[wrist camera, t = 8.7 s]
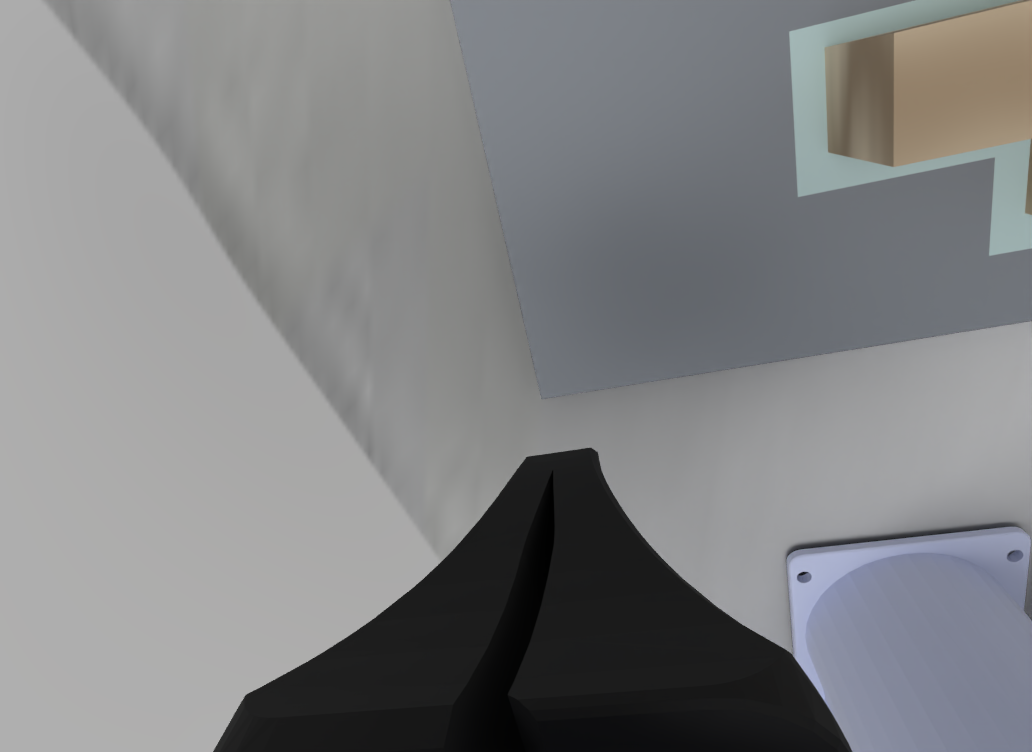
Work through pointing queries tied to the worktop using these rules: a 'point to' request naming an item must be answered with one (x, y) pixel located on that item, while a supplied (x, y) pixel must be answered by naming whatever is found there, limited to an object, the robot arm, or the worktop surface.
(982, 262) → the board
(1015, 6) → the t block
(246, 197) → the worktop surface
